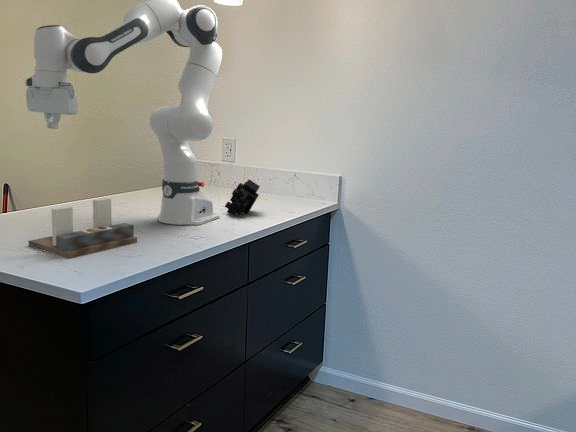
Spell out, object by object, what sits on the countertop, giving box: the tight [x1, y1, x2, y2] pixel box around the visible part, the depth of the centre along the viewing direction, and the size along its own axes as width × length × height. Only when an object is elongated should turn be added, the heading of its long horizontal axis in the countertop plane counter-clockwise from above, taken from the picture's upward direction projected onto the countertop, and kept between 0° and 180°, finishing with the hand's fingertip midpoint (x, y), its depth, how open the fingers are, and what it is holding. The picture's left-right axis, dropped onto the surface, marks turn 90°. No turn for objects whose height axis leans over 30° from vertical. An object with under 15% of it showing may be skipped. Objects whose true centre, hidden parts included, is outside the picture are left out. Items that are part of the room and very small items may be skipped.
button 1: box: [51, 206, 74, 246], centre depth 155 cm, size 5×2×10 cm, turn 147°
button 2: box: [92, 197, 113, 228], centre depth 170 cm, size 5×2×10 cm, turn 147°
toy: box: [224, 179, 261, 217], centre depth 214 cm, size 12×8×15 cm
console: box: [27, 222, 138, 259], centre depth 163 cm, size 23×18×6 cm
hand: (52, 128), depth 173 cm, fingers closed
